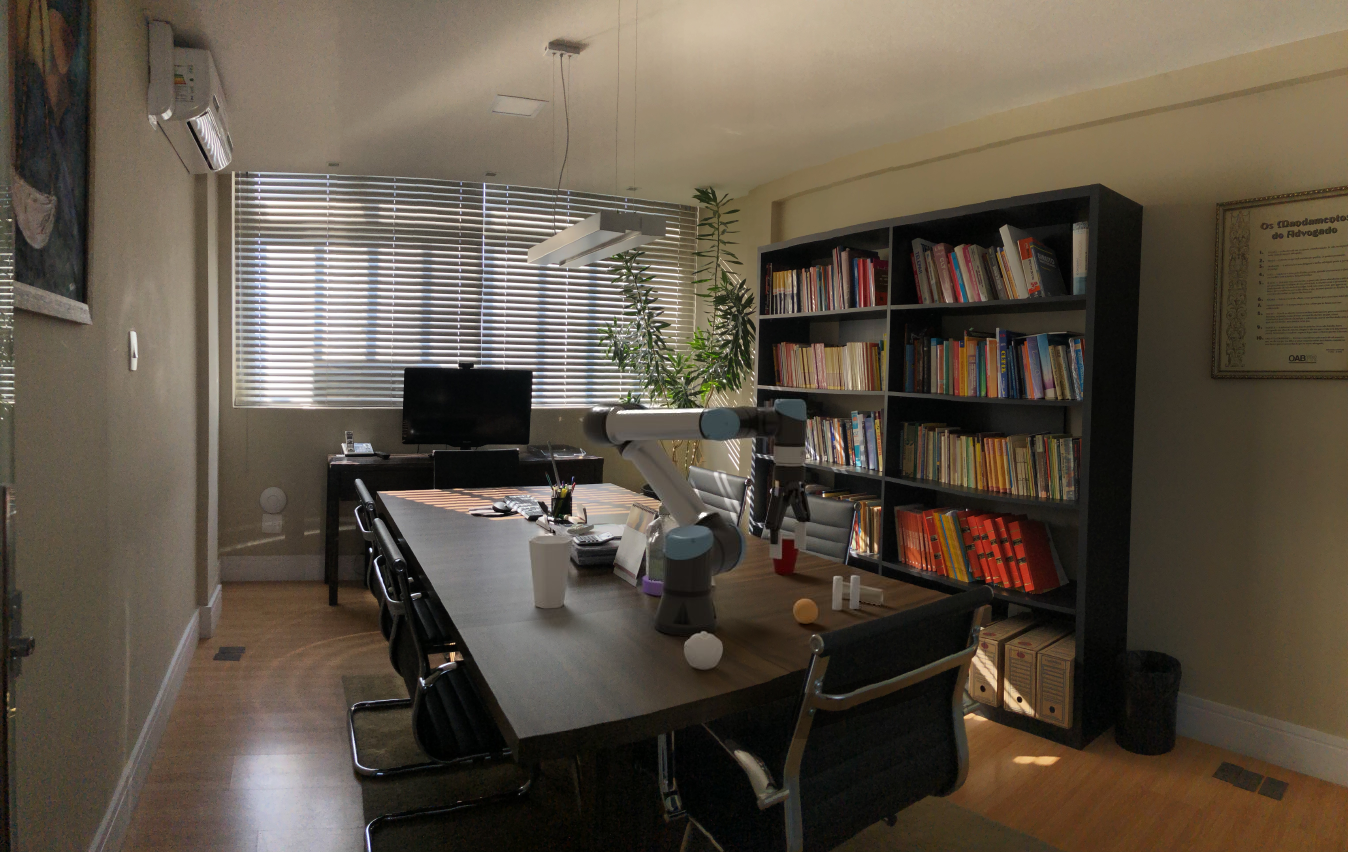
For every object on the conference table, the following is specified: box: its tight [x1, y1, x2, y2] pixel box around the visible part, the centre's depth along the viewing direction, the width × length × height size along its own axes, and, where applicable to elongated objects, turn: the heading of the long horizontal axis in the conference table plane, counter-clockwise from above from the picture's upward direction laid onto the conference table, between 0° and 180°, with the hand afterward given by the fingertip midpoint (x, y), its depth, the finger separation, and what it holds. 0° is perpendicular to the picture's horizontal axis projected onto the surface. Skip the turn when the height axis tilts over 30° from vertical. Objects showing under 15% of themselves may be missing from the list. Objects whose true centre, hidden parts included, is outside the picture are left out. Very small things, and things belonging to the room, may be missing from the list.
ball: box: [792, 598, 819, 625], centre depth 197 cm, size 6×6×6 cm
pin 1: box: [831, 575, 844, 611], centre depth 210 cm, size 2×2×8 cm
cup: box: [528, 534, 574, 610], centre depth 206 cm, size 11×10×17 cm
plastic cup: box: [767, 533, 800, 576], centre depth 250 cm, size 11×11×12 cm
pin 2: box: [849, 574, 861, 610], centre depth 212 cm, size 2×2×8 cm
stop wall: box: [831, 581, 884, 606], centre depth 220 cm, size 2×14×4 cm, turn 52°
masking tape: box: [642, 574, 663, 597], centre depth 225 cm, size 12×12×4 cm
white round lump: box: [683, 631, 724, 671], centre depth 164 cm, size 8×8×8 cm
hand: (788, 553), depth 191 cm, fingers open, 13 cm apart
